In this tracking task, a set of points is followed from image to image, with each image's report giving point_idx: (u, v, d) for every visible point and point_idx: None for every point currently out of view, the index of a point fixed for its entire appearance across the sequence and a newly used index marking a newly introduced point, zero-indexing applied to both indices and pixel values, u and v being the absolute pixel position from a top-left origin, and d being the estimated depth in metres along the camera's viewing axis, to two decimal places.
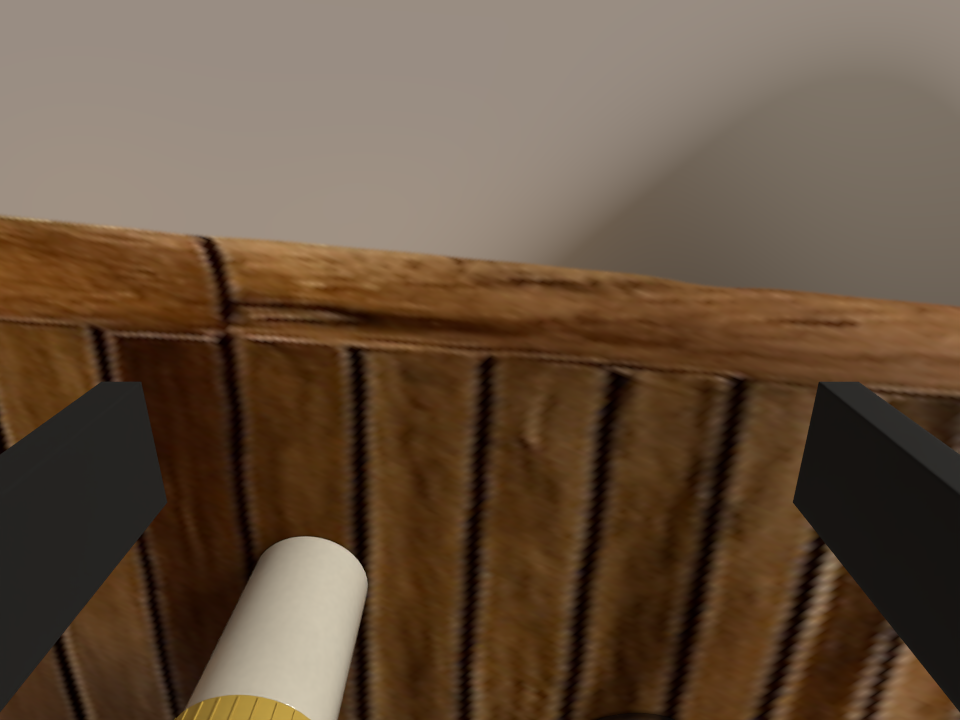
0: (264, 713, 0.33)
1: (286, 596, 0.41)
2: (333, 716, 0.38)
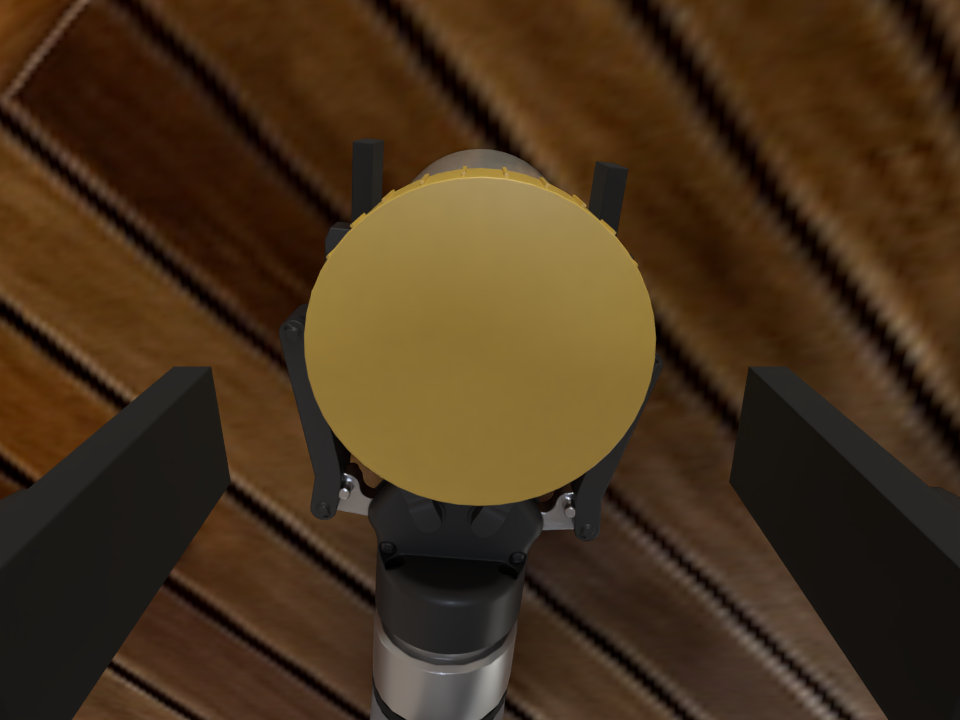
0: (408, 186, 0.17)
1: None
2: None
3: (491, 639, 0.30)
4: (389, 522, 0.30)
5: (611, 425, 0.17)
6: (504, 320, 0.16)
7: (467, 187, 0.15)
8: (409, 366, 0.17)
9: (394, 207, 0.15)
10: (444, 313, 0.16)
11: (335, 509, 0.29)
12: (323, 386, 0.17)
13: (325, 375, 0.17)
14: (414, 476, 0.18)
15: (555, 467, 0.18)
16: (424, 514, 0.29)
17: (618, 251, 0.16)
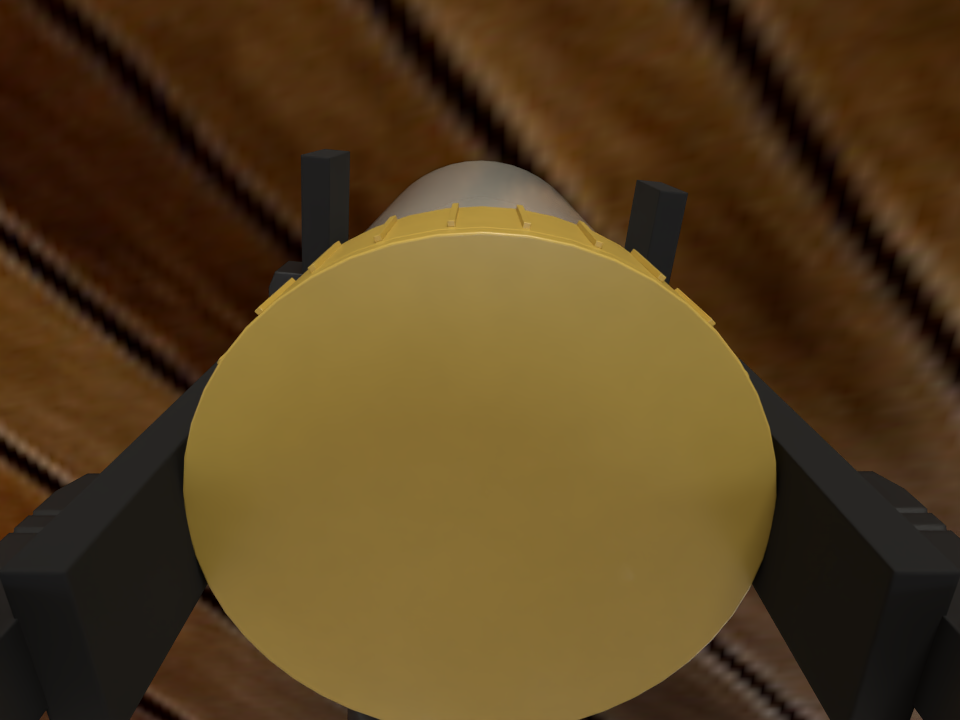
0: (359, 240, 0.10)
1: (382, 214, 0.18)
2: None
3: None
4: None
5: (694, 624, 0.11)
6: (521, 469, 0.10)
7: (457, 250, 0.08)
8: (362, 538, 0.10)
9: (326, 285, 0.09)
10: (419, 458, 0.10)
11: None
12: (220, 568, 0.10)
13: (223, 551, 0.10)
14: (375, 694, 0.11)
15: (600, 682, 0.11)
16: None
17: (723, 359, 0.09)
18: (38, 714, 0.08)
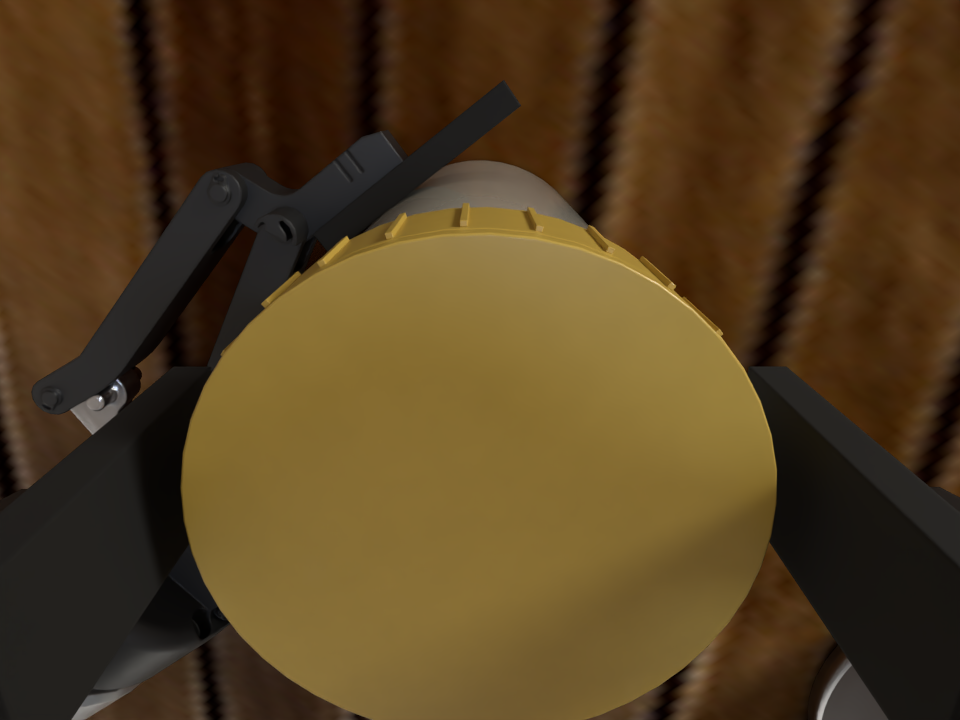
0: None
1: (501, 178, 0.18)
2: None
3: (113, 685, 0.21)
4: None
5: (745, 499, 0.10)
6: (471, 461, 0.10)
7: (272, 325, 0.09)
8: (395, 593, 0.10)
9: (205, 418, 0.09)
10: (384, 503, 0.10)
11: (66, 409, 0.20)
12: (312, 677, 0.11)
13: (304, 664, 0.11)
14: (514, 713, 0.11)
15: (702, 599, 0.11)
16: None
17: (560, 256, 0.08)
18: None
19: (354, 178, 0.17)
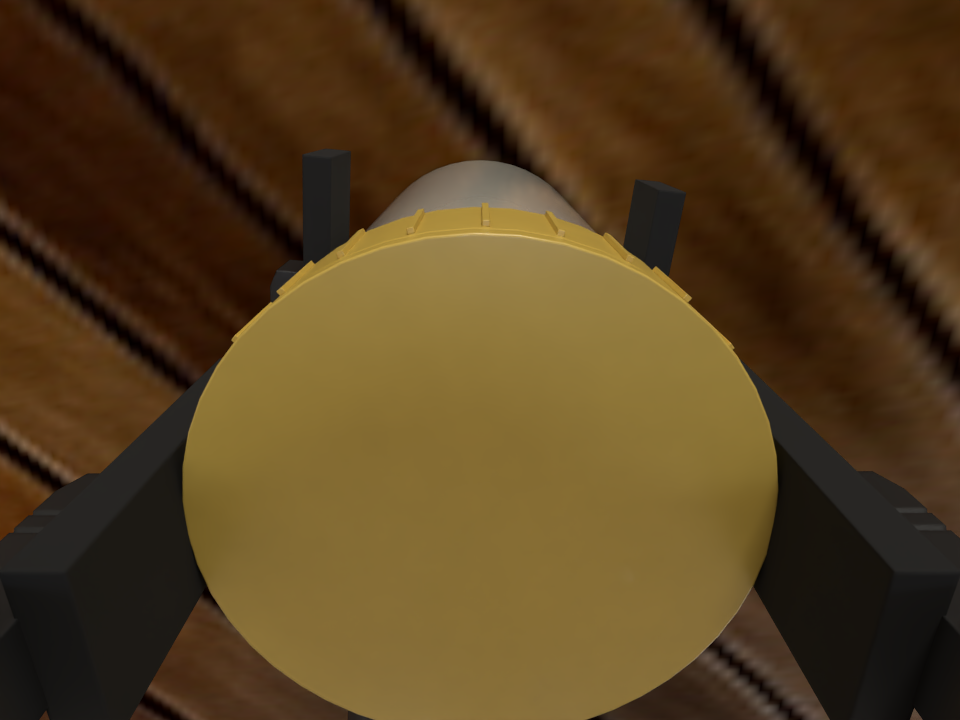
0: None
1: (383, 213, 0.18)
2: None
3: None
4: None
5: (651, 322, 0.09)
6: (415, 488, 0.10)
7: (198, 521, 0.10)
8: (482, 621, 0.11)
9: (233, 611, 0.11)
10: (398, 568, 0.10)
11: None
12: None
13: (483, 718, 0.12)
14: (680, 636, 0.11)
15: (720, 426, 0.09)
16: None
17: (296, 302, 0.09)
18: (38, 714, 0.08)
19: None
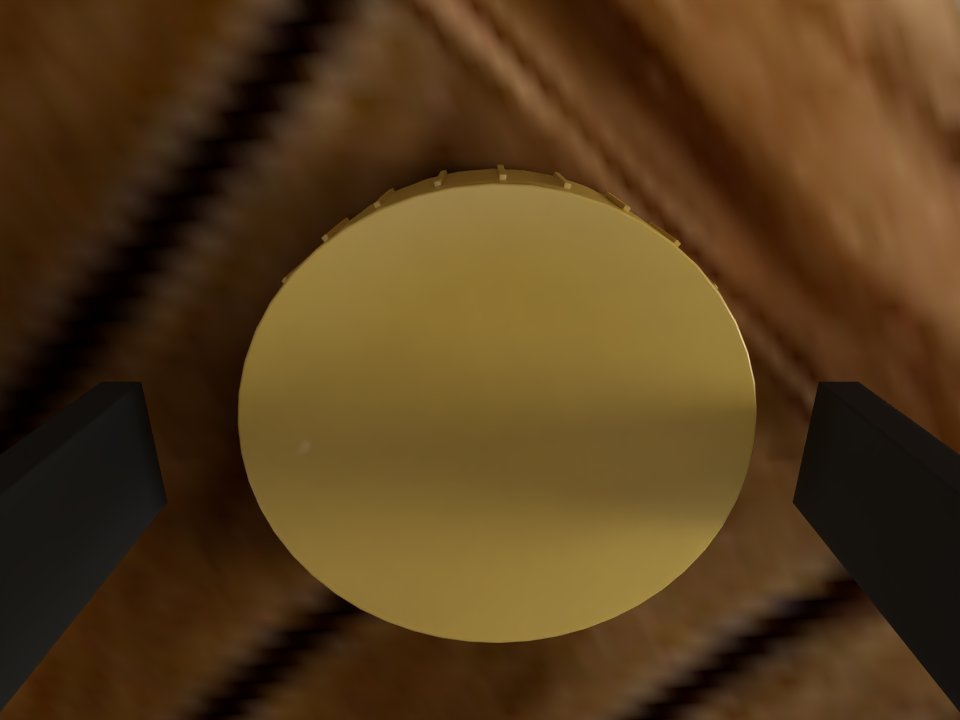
0: None
1: None
2: None
3: None
4: None
5: (644, 262, 0.10)
6: (440, 412, 0.11)
7: (251, 441, 0.11)
8: (497, 534, 0.12)
9: (279, 524, 0.12)
10: (424, 485, 0.12)
11: None
12: (512, 630, 0.13)
13: (498, 625, 0.13)
14: (672, 549, 0.12)
15: (705, 356, 0.11)
16: None
17: (340, 244, 0.10)
18: None
19: None
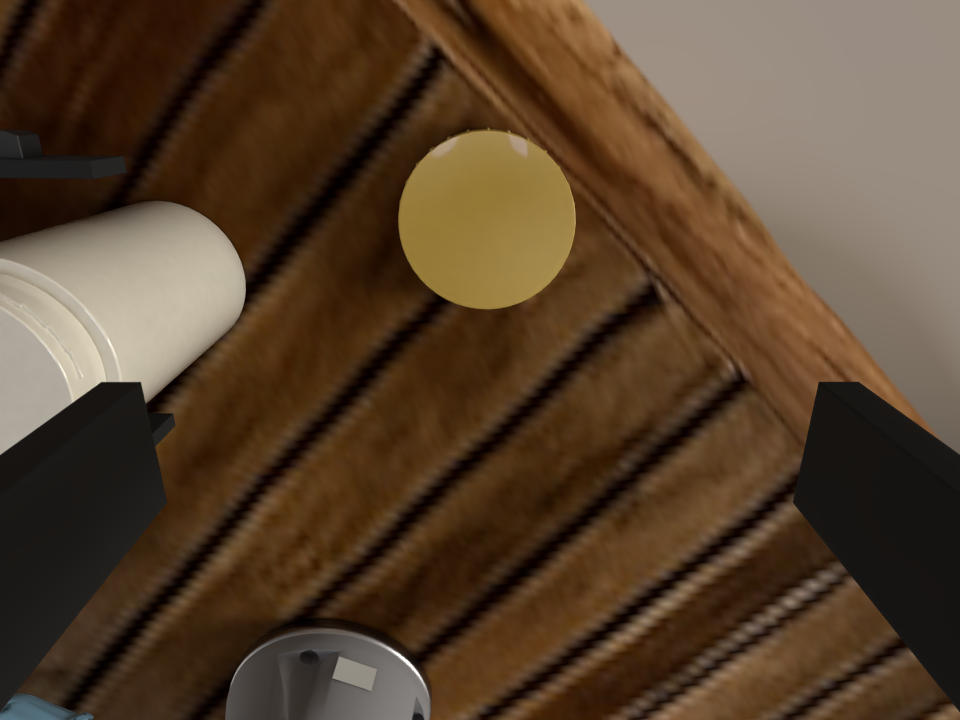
0: None
1: (161, 246, 0.30)
2: None
3: None
4: None
5: (533, 156, 0.32)
6: (467, 210, 0.33)
7: (402, 221, 0.33)
8: (487, 260, 0.34)
9: (409, 255, 0.34)
10: (461, 239, 0.34)
11: None
12: (493, 302, 0.35)
13: (487, 300, 0.35)
14: (550, 266, 0.34)
15: (555, 189, 0.33)
16: None
17: (437, 150, 0.32)
18: None
19: None
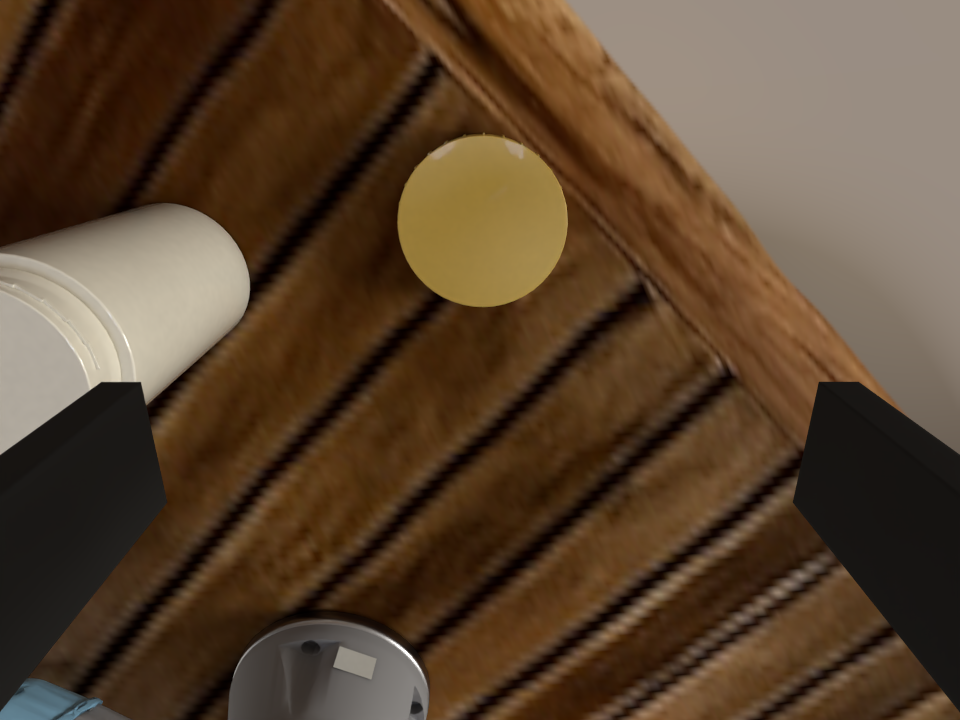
0: None
1: (171, 246, 0.31)
2: (148, 396, 0.28)
3: None
4: None
5: (527, 160, 0.33)
6: (464, 211, 0.34)
7: (401, 222, 0.35)
8: (483, 259, 0.35)
9: (408, 255, 0.35)
10: (458, 239, 0.35)
11: None
12: (489, 300, 0.36)
13: (483, 299, 0.36)
14: (543, 265, 0.35)
15: (548, 191, 0.34)
16: None
17: (434, 154, 0.33)
18: None
19: None
